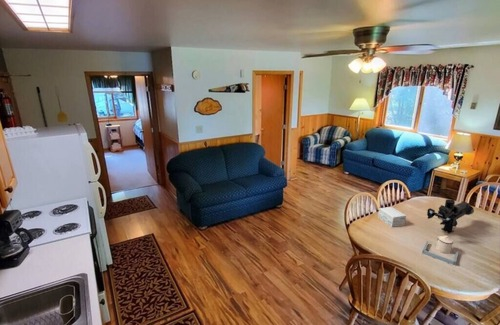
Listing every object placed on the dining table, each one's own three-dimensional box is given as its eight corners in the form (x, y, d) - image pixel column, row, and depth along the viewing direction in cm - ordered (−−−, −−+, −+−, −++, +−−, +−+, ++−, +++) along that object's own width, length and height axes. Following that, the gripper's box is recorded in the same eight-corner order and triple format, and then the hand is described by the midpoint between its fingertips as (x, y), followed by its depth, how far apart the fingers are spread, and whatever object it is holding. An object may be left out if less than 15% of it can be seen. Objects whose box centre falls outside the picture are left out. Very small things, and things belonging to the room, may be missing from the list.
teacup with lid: (453, 253, 191) (457, 239, 187) (441, 254, 190) (445, 240, 187) (441, 243, 202) (445, 230, 198) (429, 243, 202) (433, 230, 198)
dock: (426, 243, 202) (426, 240, 201) (457, 254, 190) (458, 251, 189) (422, 253, 191) (422, 250, 190) (455, 265, 179) (456, 262, 178)
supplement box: (404, 225, 227) (406, 215, 224) (391, 227, 223) (393, 217, 220) (389, 215, 242) (391, 206, 239) (377, 217, 239) (379, 208, 236)
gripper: (434, 199, 214) (422, 206, 207) (461, 209, 198) (449, 217, 192) (433, 211, 218) (421, 218, 212) (458, 222, 202) (446, 230, 196)
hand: (434, 220), depth 203 cm, fingers open, 9 cm apart
